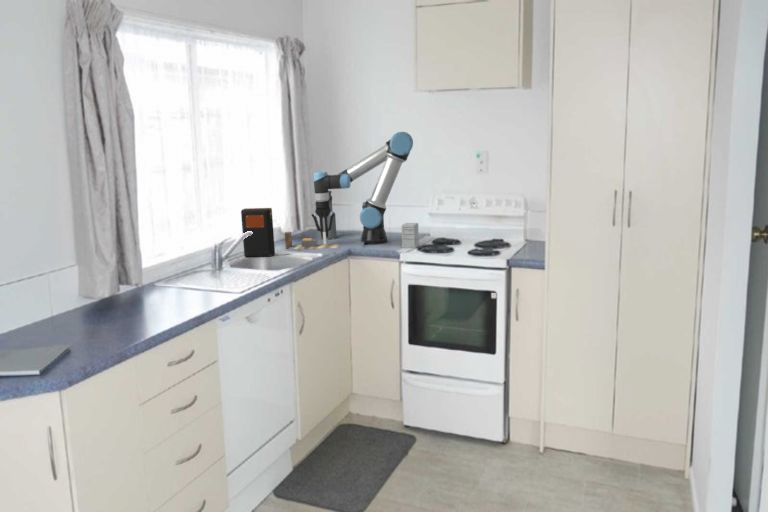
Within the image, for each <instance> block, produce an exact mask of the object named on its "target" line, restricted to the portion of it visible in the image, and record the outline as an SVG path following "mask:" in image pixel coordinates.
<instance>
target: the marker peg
mask: <svg viewBox="0 0 768 512" xmlns="http://www.w3.org/2000/svg"><path fill="white" fill-rule="evenodd" d="M292 237H293V236H292V232H284V243H285V246H284V247H285V250H286V249H288V250H289V249H290V248H292V247H293V238H292Z"/></svg>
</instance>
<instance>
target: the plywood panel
mask: <svg viewBox="0 0 768 512" xmlns="http://www.w3.org/2000/svg"><path fill="white" fill-rule="evenodd" d="M340 246H341V244H340V243H339V244H338V243H334V244H330V243H329V244H328V243H327V244H318V245H317V246H316V247H302V244H297V245H296V246H295V247H294V248H293V250H314V249H315V250H317V249H318V250H319V249H338V248H339V247H340Z"/></svg>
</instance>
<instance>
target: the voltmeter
mask: <svg viewBox="0 0 768 512" xmlns="http://www.w3.org/2000/svg"><path fill="white" fill-rule="evenodd" d="M240 216H241V227H242V228H241V229H242V230H241V231H242V234H243V233H245V232H247V231H252V232H253V234H252V235H251V236H248V237H247V238H245V239H244V240H243V239H242V242H243V254H244V257H245V258H246V257H249V258H251V257H252V258H255V257H272V256H273V255H275V254H276V251H275V236H274V225H273V224H274V222H273V221H274V220H273V209H272V207H256V208H255V207H250V208H249V207H248V208H242V209H241V210H240Z"/></svg>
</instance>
